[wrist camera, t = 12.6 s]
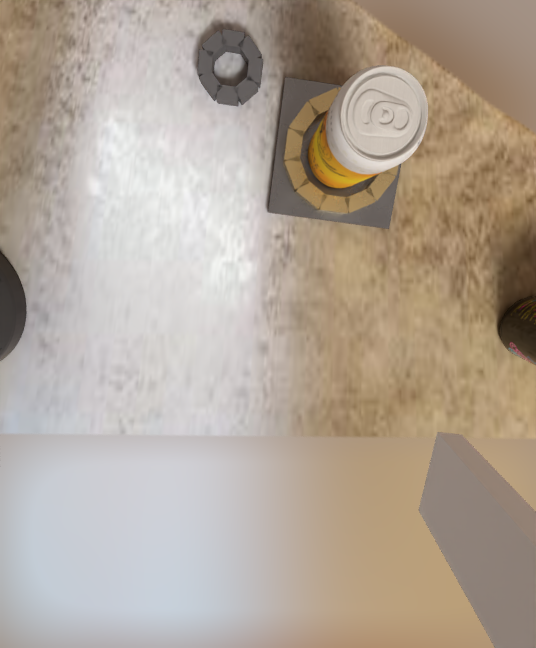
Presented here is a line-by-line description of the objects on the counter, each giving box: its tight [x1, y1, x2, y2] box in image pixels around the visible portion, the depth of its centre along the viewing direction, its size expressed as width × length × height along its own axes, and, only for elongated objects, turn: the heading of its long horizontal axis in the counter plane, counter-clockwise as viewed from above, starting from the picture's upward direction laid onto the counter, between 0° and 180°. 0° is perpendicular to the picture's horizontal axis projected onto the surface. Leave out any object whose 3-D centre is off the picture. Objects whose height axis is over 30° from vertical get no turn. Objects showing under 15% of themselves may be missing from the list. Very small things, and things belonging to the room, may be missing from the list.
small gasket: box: [198, 29, 263, 106], centre depth 38 cm, size 6×6×2 cm
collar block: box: [268, 77, 401, 229], centre depth 39 cm, size 12×12×3 cm
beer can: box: [308, 65, 428, 188], centre depth 33 cm, size 6×6×15 cm
